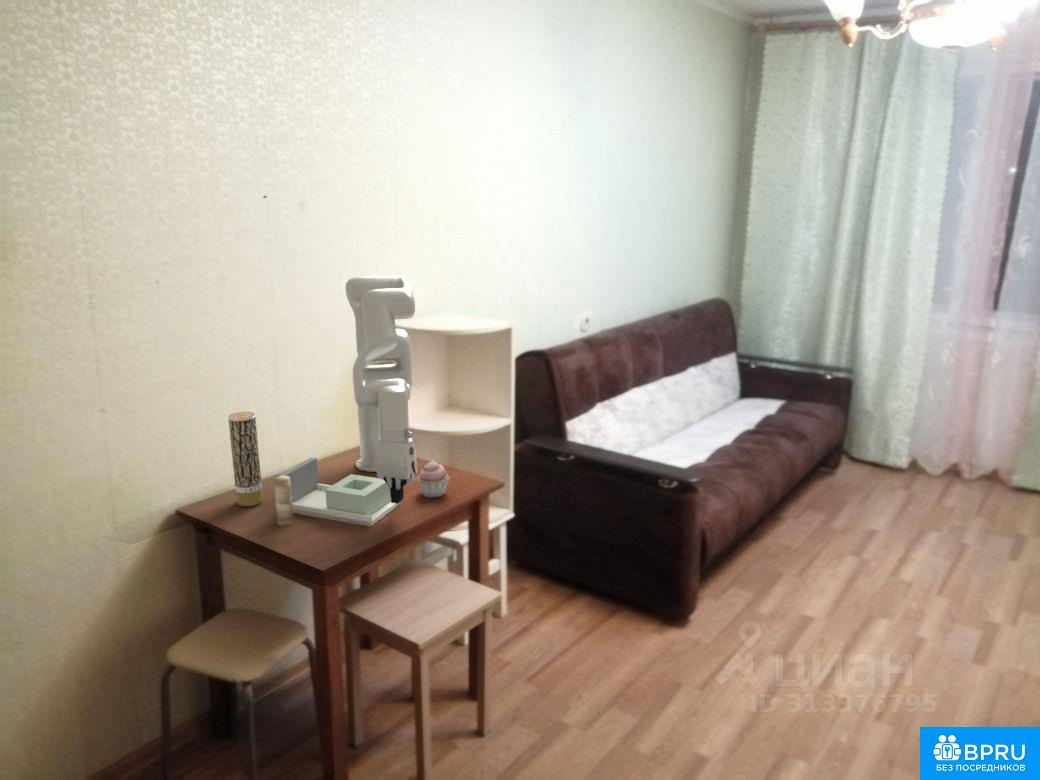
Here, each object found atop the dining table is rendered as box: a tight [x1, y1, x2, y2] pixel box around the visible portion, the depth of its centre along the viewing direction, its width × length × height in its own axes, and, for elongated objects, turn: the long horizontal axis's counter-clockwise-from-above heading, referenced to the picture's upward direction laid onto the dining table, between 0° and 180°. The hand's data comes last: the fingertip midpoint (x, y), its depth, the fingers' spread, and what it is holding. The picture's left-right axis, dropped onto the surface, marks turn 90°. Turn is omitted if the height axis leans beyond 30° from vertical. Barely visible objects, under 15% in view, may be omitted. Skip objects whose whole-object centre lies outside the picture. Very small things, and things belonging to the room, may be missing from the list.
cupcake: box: [416, 459, 450, 499], centre depth 220 cm, size 9×9×10 cm
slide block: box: [325, 473, 390, 516], centre depth 208 cm, size 12×12×6 cm
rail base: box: [276, 457, 400, 527], centre depth 210 cm, size 15×28×10 cm, turn 69°
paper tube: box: [227, 411, 264, 507], centre depth 212 cm, size 7×7×25 cm
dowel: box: [273, 476, 294, 526], centre depth 201 cm, size 4×4×12 cm
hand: (397, 501), depth 204 cm, fingers closed
